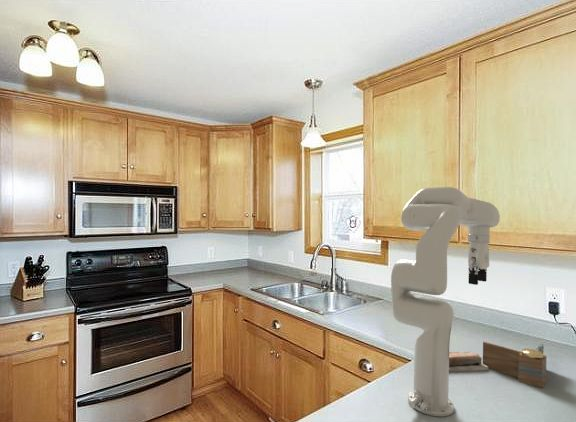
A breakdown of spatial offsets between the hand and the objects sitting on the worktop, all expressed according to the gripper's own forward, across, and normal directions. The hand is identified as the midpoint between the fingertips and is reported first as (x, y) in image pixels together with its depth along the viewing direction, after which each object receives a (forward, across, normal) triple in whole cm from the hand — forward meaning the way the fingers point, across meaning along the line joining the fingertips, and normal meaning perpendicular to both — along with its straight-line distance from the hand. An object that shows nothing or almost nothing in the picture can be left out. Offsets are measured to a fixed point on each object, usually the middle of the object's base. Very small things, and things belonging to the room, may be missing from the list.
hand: (477, 282), depth 132 cm
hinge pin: (+30, -4, -19) cm, 36 cm away
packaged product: (+31, -11, +3) cm, 33 cm away
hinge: (+30, +2, -13) cm, 33 cm away
